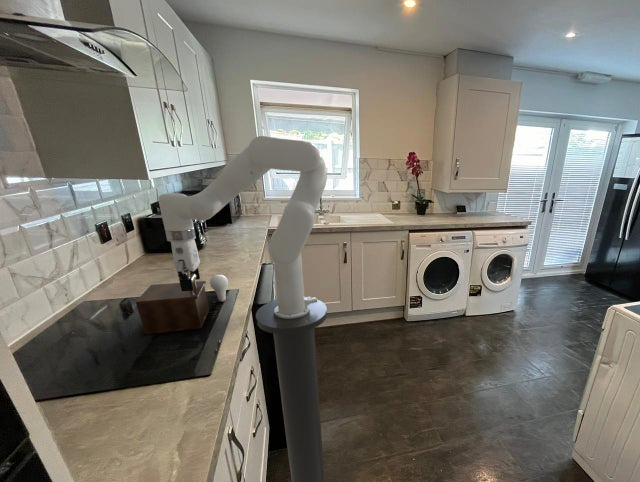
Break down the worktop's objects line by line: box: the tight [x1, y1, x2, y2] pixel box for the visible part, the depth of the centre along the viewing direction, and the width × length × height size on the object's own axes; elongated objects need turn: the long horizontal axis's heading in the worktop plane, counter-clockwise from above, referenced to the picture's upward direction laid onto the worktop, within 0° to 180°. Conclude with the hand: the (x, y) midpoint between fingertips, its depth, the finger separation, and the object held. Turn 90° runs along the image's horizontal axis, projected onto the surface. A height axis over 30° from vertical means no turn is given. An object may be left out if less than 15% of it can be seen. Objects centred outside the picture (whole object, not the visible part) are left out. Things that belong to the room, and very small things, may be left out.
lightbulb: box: [209, 274, 229, 302], centre depth 123 cm, size 6×6×11 cm
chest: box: [135, 286, 210, 336], centre depth 108 cm, size 16×14×11 cm
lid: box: [135, 274, 207, 304], centre depth 105 cm, size 16×14×5 cm
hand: (191, 284), depth 107 cm, fingers open, 9 cm apart
